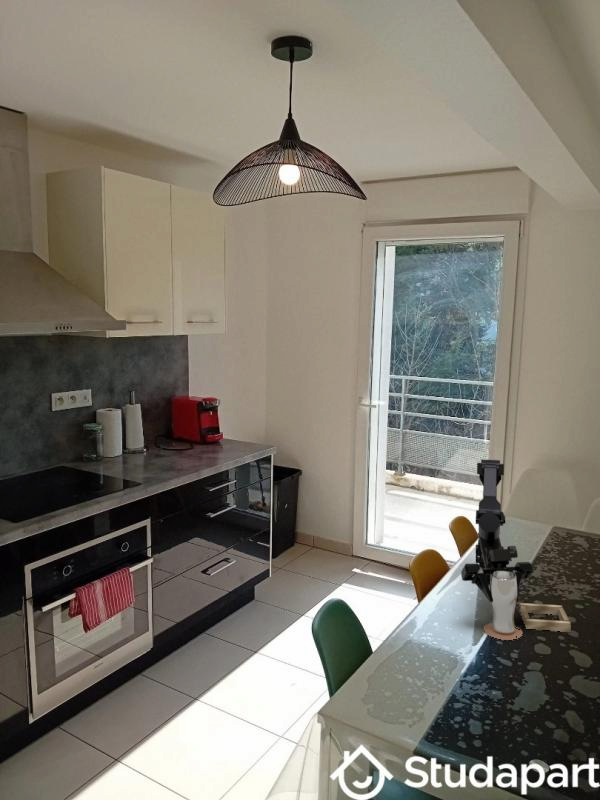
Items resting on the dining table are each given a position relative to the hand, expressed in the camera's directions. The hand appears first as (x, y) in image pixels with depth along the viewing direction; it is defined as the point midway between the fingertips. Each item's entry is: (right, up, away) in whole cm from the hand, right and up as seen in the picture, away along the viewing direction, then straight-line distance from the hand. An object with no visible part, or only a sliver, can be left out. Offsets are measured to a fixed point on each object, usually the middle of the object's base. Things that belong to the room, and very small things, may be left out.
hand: (503, 601), depth 170 cm
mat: (0, -8, +1) cm, 9 cm away
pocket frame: (+13, -8, +7) cm, 17 cm away
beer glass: (0, -8, +1) cm, 8 cm away
